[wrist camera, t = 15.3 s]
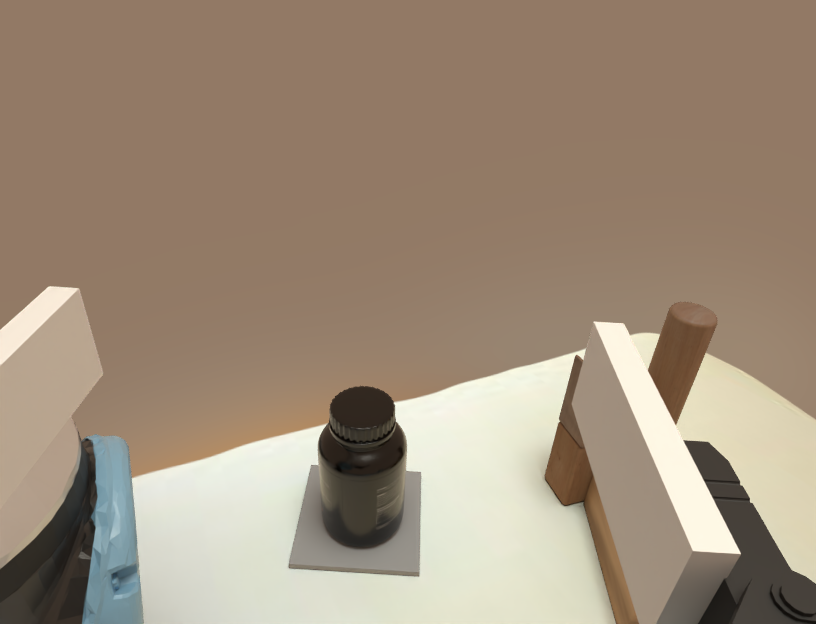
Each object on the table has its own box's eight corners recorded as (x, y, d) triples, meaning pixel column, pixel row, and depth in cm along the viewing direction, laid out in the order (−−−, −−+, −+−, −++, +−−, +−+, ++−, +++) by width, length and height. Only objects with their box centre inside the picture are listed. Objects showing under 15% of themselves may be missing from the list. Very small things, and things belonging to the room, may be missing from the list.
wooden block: (542, 477, 54) (584, 313, 44) (638, 453, 57) (697, 296, 48) (563, 508, 51) (613, 340, 42) (663, 482, 54) (731, 320, 45)
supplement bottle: (392, 477, 52) (398, 371, 46) (412, 542, 47) (422, 432, 40) (315, 489, 51) (311, 382, 44) (326, 558, 45) (323, 446, 39)
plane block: (621, 640, 41) (652, 572, 37) (583, 503, 52) (604, 437, 47) (705, 645, 42) (746, 578, 37) (651, 508, 52) (678, 442, 47)
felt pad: (289, 567, 45) (288, 563, 45) (311, 468, 53) (311, 465, 53) (418, 576, 45) (419, 572, 45) (420, 475, 53) (420, 472, 53)
